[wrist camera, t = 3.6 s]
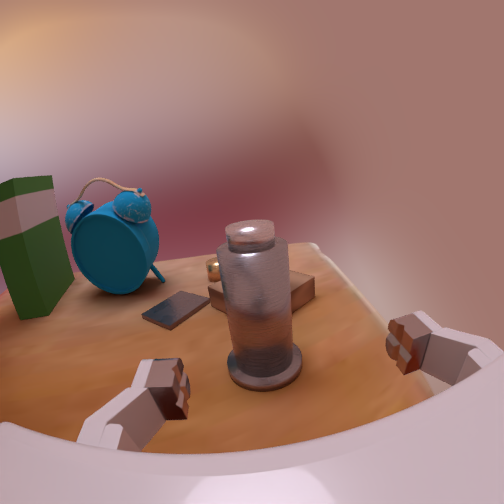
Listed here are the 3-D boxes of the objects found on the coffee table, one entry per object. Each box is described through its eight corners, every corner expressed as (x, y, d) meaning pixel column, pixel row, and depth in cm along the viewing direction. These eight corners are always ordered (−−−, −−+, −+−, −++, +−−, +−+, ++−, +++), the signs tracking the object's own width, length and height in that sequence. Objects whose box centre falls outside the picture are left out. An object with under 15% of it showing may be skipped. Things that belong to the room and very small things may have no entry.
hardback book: (50, 284, 51) (26, 184, 43) (74, 278, 53) (51, 175, 45) (20, 320, 35) (-16, 191, 27) (48, 315, 36) (12, 178, 29)
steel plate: (171, 333, 32) (169, 326, 32) (143, 321, 35) (141, 314, 35) (211, 305, 38) (209, 298, 38) (182, 297, 42) (180, 290, 41)
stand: (264, 332, 30) (261, 309, 29) (211, 305, 37) (207, 286, 36) (314, 296, 36) (314, 276, 35) (262, 280, 43) (260, 262, 42)
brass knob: (218, 284, 44) (215, 267, 43) (204, 278, 47) (201, 262, 46) (236, 276, 46) (234, 259, 45) (222, 271, 49) (219, 255, 48)
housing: (266, 403, 20) (247, 245, 16) (214, 368, 25) (185, 232, 21) (316, 360, 24) (315, 219, 20) (264, 335, 29) (250, 212, 25)
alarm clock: (178, 275, 49) (159, 165, 43) (159, 302, 39) (131, 168, 33) (105, 279, 50) (84, 183, 44) (78, 303, 41) (50, 191, 34)
